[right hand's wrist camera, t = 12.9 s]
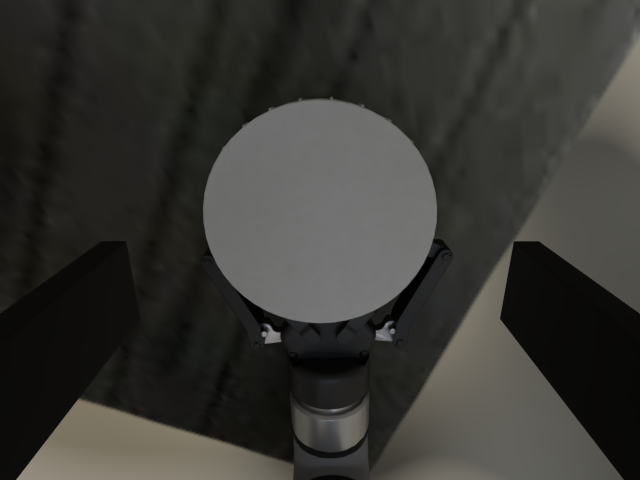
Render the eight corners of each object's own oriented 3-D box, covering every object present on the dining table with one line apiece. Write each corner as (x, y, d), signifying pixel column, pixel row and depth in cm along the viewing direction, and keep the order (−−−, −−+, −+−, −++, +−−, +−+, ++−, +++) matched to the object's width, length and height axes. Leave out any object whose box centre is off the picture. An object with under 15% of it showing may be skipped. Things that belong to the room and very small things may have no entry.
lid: (473, 211, 20) (487, 222, 18) (320, 341, 23) (320, 361, 21) (320, 42, 17) (320, 37, 16) (166, 212, 20) (153, 223, 18)
